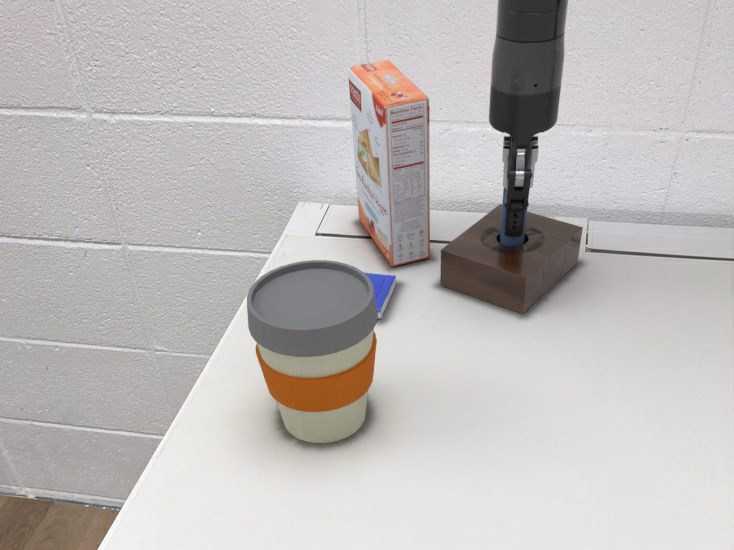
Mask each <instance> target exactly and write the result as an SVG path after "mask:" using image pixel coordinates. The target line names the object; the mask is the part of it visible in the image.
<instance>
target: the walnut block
mask: <svg viewBox="0 0 734 550" xmlns="http://www.w3.org/2000/svg"><path fill="white" fill-rule="evenodd" d="M501 217H502V203H499V204H498V205H497V206H495V207H494V208H493V209H492V210H490V211H489V212H487V214H485V215H484V216H483V217H481V218H480V219H479V220H478V221H476V222H474V224H472V225H471V226H470V227H468V228H467V229H466V230H465V231H463V232H461V234H459V235H458V236H457V237H456V238H454V239H453V240H452V241H450V242H449V243H447V244H446V245H445V246H444V247H443V248H442V249H440V280H439V281H440V286H442V287H444V288H447V289H450V290H453V291H456V292H459V293H462V294H464V295H467V296H469V297H473V298H474V299H475V298H476V299H479V300H481V301H484V302H487V303H490V304H493V305H496V306H499V307H501V308H504V309H507V310H510V311H513V312H516V313H518V314H522V315H523V314H524V313H526V312H527V311H528V310H529V309H530V308H531V307H532V306H533V305H535V303H536V302H537V301H538V300H539V299H541V298H542V297H543V296H544V295H545V294H546V293H547V292H549V290H550V289H551V288H553V286H555V285H556V284H557V282H559V281H560V280H561V279H562V278H563V277H564V276H565V275H567V273H568V272H570V270H572V269H573V268H574V267H575V266H576V265H577V264H578V262H579V255H580V248H581V243H582V242H581V241H582V236H583V228H584V227H583V226H579V225H577V224H573V223H570V222H565V221H563V220H558V219H555V218H553V217H549V216H544V215H541V214H538V213H533V212H531V211H527V217H526V227H525V238H524V245H521V246H515V247H512V246H505V245H501V244H500V230H501Z"/></svg>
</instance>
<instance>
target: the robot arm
mask: <svg viewBox="0 0 734 550" xmlns="http://www.w3.org/2000/svg"><path fill="white" fill-rule="evenodd" d="M568 6H569V0H497V9H496V25H495V27H496V28H495V39H494V45H493V50H492V56H491V57H492V58H491V73H490V89H489V105H488V107H489V109H488V122H489V125H490V126H491V127H492V128H493V129H494V130H495V131H497V132H499V133H501V134H508V135H503V141H502V162H503V169H502V170H503V171H502V172H503V173H502V174H503V176H502V177H503V179H502V187H503V189H504V188H506V189H507V193H506V200H505V207H506V218H505V232H504V234H505V236H507V237H520V236H522V235H523V227H524V216H525V210H527V211H528V208H529V206H530V203H529V197H530V189H532V188H533V186H534V178H535V177H534V176H535V166H536V163H537V162H538V158H539V148H540V147H539V146H540V145H539V135H538V134H540V133H541V134H542V133H546V132H548V131H549V130H551V129H552V128H553V127H554V126H555V125H556V124H557V122H558V115H559V107H560V98H561V89H562V80H563V73H564V64H565V33H566V24H567V14H568Z"/></svg>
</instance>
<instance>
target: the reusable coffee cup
mask: <svg viewBox="0 0 734 550" xmlns="http://www.w3.org/2000/svg"><path fill="white" fill-rule="evenodd" d="M365 273H366V272H364V271H363V270H362V269H359V268H358V267H356V266H354V265H350V264H348V263H345V262H339V261H335V260H327V259H312V260H301V261H297V262H296V261H295V262H291V263H288V264H284V265H281V266H278V267H276V268H274V269H271V270H270V271H268V272H266V273H264V274H263V275H261V276H260V277H259V278H258V279H257V280H255V281H254V282H253V284H252V285H251V287H250V288H249V289H248V292H247V295H246V311H247V312H246V313H247V326H248V331H249V334H250V336H251V337H252V338H253V340H254V341H255V342H256V344H255V354H256V358H257V360H258V363H259V366H260V369H261V372H262V376H263V378H264V380H265V384H266V388H267V390H268V393H269V395H271V397H272V399H274V400H275V402H276V405H277V407H278V410H279V413H280V417H281V419H282V422H283V425H284V428H285V430H287V432H288V433H289V434H290V435H291V436H292V437H294V438H296V439H298V440H301V441H304V442H307V443H311V444H329V443H334V442H339V441H341V440H345V439H346V438H349V437H350V436H352V435H354V434H355V433H356V432H357V431H359V430H360V428H361V427H362V426H363V424H364V423H365V420H366V416H367V407H368V406H367V405H368V395H369V394H368V393H369V390H370V388H371V386H372V384H373V381H374V374H375V365H376V364H375V362H376V355H377V354H376V353H377V334H376V332H375V330H374V329H375V327H376V325H377V323H378V319H379V318H378V312H377V306H376V300H375V294H374V289H373V283H372V282H371V280H370V278H369V277H368V276H367V275H366V274H365Z"/></svg>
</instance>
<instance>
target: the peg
mask: <svg viewBox="0 0 734 550" xmlns="http://www.w3.org/2000/svg"><path fill="white" fill-rule="evenodd" d="M506 193H507V189H506V188H504V187H503V192H502V203H501V204H502V217H501V230H500V244H501V245H505V246H512V247H515V246H521V245H524V238H525V227H526V217H527V212H528V209H527V210H525V216H524V227H523V235H522V236H520V237H507V236H505V234H504V232H505V218H506V207H505V200H506Z"/></svg>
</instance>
